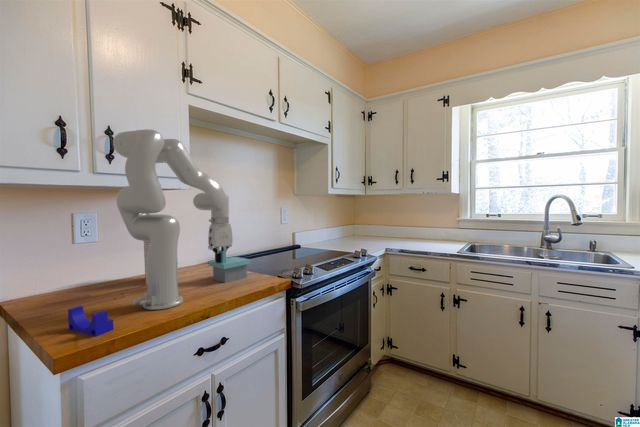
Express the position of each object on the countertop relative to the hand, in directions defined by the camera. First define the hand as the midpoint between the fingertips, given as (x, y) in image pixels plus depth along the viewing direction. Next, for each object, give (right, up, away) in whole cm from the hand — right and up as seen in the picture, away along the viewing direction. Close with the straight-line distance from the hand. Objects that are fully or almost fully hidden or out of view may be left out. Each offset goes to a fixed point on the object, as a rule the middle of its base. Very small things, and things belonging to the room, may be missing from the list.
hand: (220, 261), depth 132 cm
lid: (+3, -2, +4) cm, 6 cm away
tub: (+3, -9, +5) cm, 10 cm away
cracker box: (-31, -9, +1) cm, 32 cm away
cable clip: (-20, -12, -49) cm, 54 cm away
